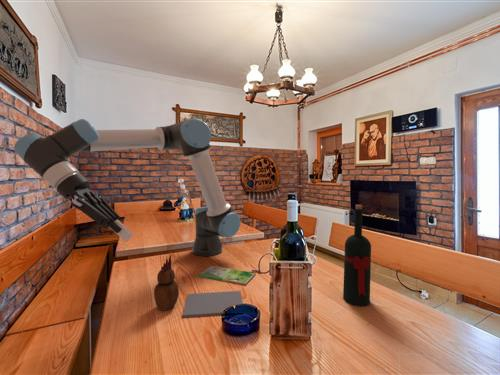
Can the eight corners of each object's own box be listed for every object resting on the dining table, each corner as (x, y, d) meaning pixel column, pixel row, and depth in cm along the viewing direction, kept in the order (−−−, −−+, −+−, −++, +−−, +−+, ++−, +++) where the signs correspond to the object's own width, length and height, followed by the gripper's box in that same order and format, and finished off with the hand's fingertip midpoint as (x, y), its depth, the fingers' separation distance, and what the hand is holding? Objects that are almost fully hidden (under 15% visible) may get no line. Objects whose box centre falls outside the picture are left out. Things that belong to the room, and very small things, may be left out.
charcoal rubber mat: (182, 317, 67) (182, 315, 67) (188, 295, 79) (188, 293, 79) (243, 313, 69) (243, 311, 69) (240, 292, 81) (240, 290, 81)
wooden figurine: (172, 299, 76) (171, 252, 76) (181, 306, 72) (181, 256, 71) (151, 307, 72) (150, 257, 71) (159, 315, 68) (158, 262, 67)
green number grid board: (245, 286, 86) (256, 276, 95) (245, 283, 86) (256, 272, 95) (198, 277, 93) (211, 268, 103) (198, 274, 93) (211, 265, 103)
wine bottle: (347, 309, 71) (350, 207, 69) (340, 292, 81) (342, 203, 79) (376, 312, 69) (379, 208, 68) (365, 294, 79) (368, 203, 78)
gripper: (72, 189, 76) (129, 241, 78) (41, 191, 63) (110, 254, 65) (90, 172, 76) (146, 225, 78) (63, 171, 63) (130, 234, 65)
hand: (129, 238), depth 72 cm, fingers closed
